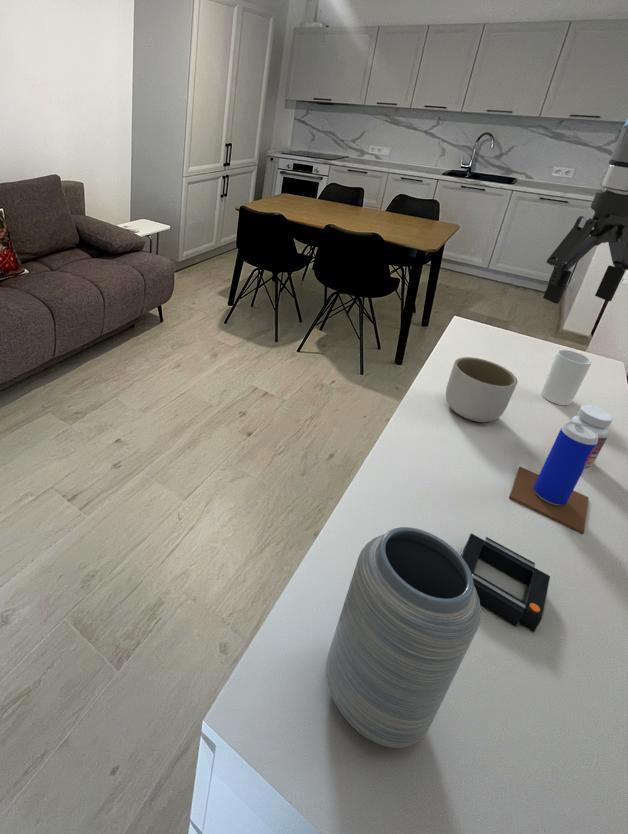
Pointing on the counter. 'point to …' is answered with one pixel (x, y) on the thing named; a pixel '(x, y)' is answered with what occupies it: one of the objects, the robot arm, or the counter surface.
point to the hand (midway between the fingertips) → (577, 299)
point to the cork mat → (564, 514)
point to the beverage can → (565, 463)
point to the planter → (479, 389)
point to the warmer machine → (517, 568)
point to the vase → (401, 635)
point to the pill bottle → (594, 425)
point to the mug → (565, 377)
